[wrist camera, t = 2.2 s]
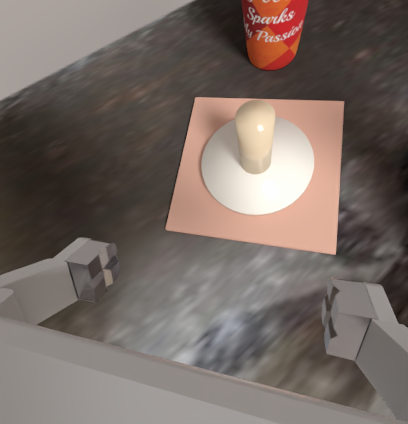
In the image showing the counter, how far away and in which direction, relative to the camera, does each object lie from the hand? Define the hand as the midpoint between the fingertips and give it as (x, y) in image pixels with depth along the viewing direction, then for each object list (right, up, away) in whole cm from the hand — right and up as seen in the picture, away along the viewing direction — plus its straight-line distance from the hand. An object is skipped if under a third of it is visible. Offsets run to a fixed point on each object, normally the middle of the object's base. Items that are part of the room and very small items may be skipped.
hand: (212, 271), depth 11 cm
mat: (+5, +7, +18) cm, 20 cm away
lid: (+5, +7, +18) cm, 20 cm away
